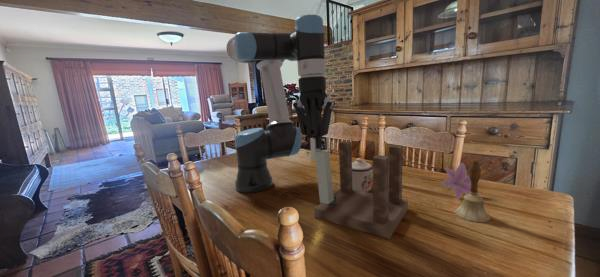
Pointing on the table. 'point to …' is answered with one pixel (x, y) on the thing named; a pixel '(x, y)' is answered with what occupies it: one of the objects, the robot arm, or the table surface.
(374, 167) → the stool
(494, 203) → the table surface
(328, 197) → the folding leg
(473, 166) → the hand bell
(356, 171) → the teacup with lid
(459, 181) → the lily
